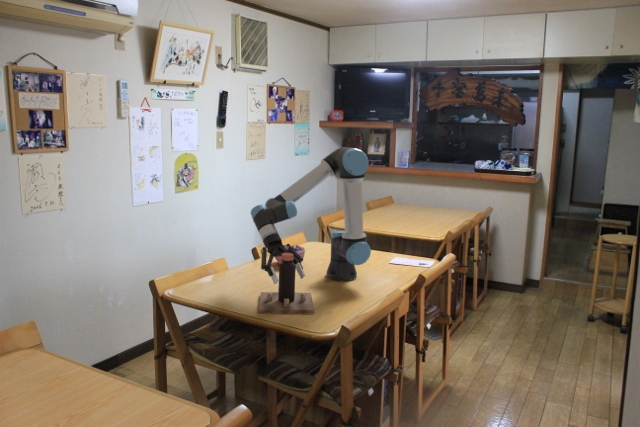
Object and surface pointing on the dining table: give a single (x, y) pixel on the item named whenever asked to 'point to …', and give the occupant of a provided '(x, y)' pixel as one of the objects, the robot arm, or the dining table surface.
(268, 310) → the peg stand
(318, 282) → the dining table surface
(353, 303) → the dining table surface
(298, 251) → the cell model
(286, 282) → the vinegar
